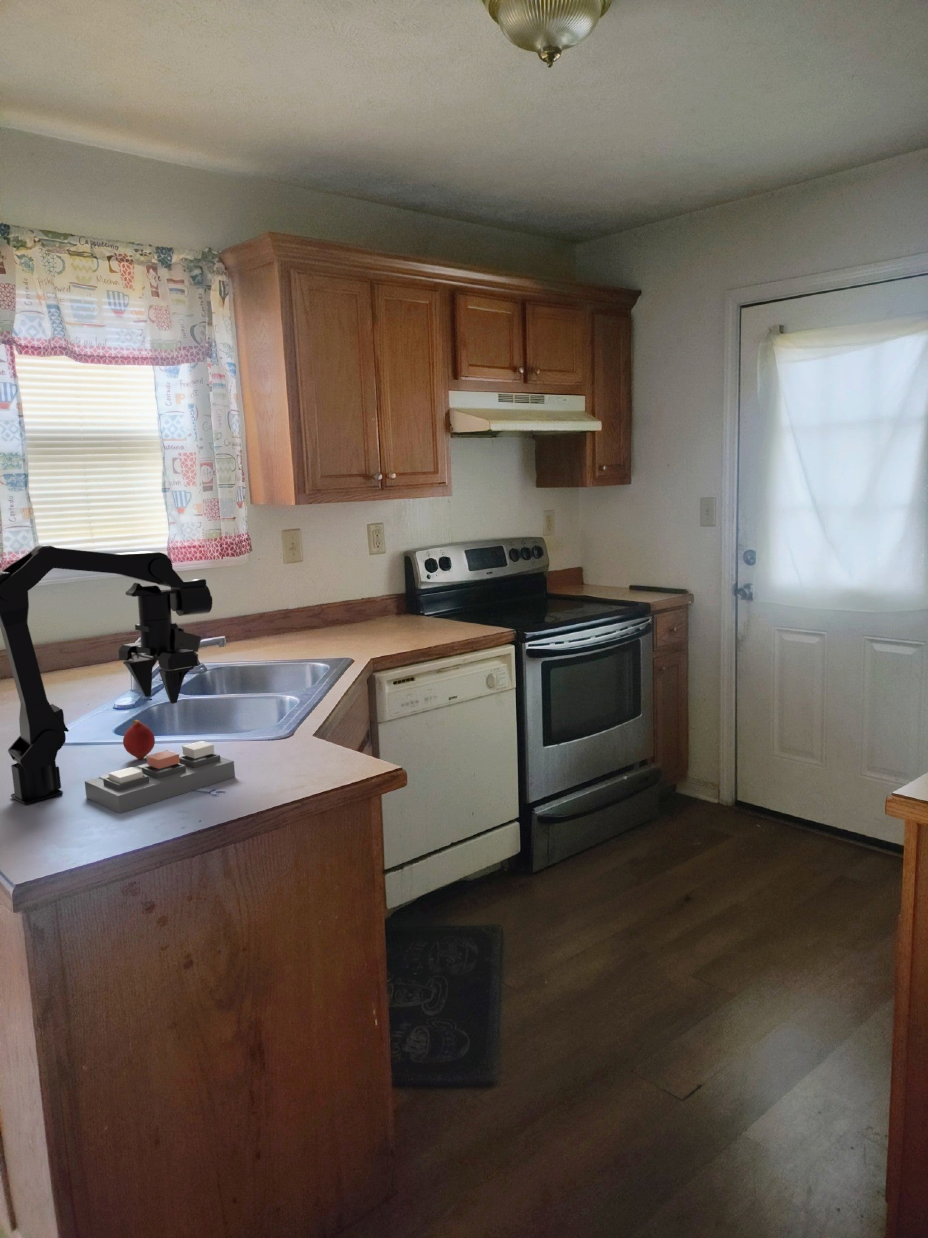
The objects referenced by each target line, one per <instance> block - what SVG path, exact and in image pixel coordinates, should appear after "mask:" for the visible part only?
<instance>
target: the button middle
mask: <svg viewBox="0 0 928 1238" xmlns="http://www.w3.org/2000/svg"><path fill="white" fill-rule="evenodd" d="M145 757H146V764H147V765H149V766H152V767H155V768H158V769H160V768H164V767H167V766H171V765H174V764H178V763H180V761H179V753H176V752H174V751H171V750H162V751H160V752H156V753H151V754H147V755H146V756H145Z"/></svg>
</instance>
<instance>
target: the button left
mask: <svg viewBox="0 0 928 1238" xmlns="http://www.w3.org/2000/svg"><path fill="white" fill-rule="evenodd" d="M108 774H109V780H112V781H114V782H116V783H119V784H121V783H124V782H128V781H131V780H135V779H138V778H141V777H143V773H142V771H140V770H137V769H135V768H134V767H132V766H129V767H125V768H122V769H118V770H115V771H111V772H108Z"/></svg>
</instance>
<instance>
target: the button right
mask: <svg viewBox="0 0 928 1238" xmlns="http://www.w3.org/2000/svg"><path fill="white" fill-rule="evenodd" d="M181 747H182V753H183V755H186V756H189V757H192V758H199V757H202V756H206V755H209V754H213V753H214V754H215V745H214V743H210V742H208V741H203V740H199V741H196V742H193V743H189V744H185V745H182V746H181Z"/></svg>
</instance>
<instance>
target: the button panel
mask: <svg viewBox="0 0 928 1238" xmlns="http://www.w3.org/2000/svg"><path fill="white" fill-rule="evenodd" d="M178 754H179V753H178ZM179 761H180V763H178V764H174V765H171V766H167V767H164V768H160V769H158V768H155V767H152V766H149V765H147V763H143V764H140V765H137V766H134V767H133V768H135V769H137V770H140V771H142V773H143V777H141V778H138V779H135V780H131V781H128V782H124V783H121V784H119V783H116V782H114V781H112V780H109V773H108V774H104V775H100V776H98V777H95V778H91V779H89V780H85V781H84V786H85V787H84V788H85V797H86V799H88V800H90V801H92V802H95V803H97V804H99V805H101V806H102V807H105V808H107V809H110V810H112V811H114V812H116V813H119V814H123V813H125V812H129V811H132V810H136V809H138V808H141V807H144V806H147V805H151V804H154V803H157V802H160V801H163V800H167V799H169V798H172V797H175V796H179V795H182V794H185V793H188V792H191V791H195V790H198V789H201V788H205V787H207V786H210V785H215V784H216V783H220V782H224V781H226V780H230V779H232V778H235V777H236V772H235V770H236V769H235V761H234V760H231V759H229V758H225V757H222V756H221V755H220V754H218V753H215V752H214V753H213V754H209V755H206V756H202V757H199V758H192V757H189V756H186V755H183V752H182V753H180V754H179Z"/></svg>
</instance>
